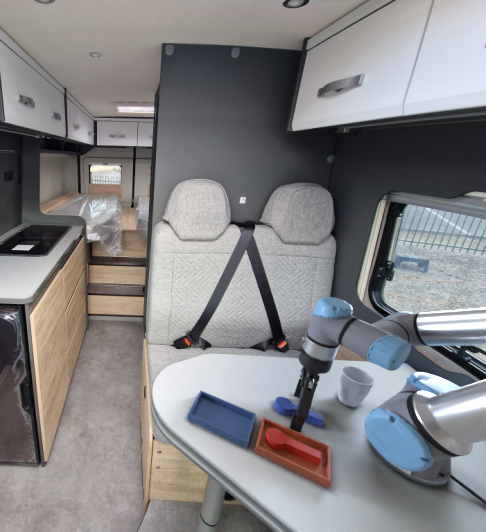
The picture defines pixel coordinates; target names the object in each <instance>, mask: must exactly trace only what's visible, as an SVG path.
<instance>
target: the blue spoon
mask: <svg viewBox="0 0 486 532" xmlns="http://www.w3.org/2000/svg"><path fill="white" fill-rule="evenodd" d="M297 406H298V404H295V403H293V401H291V399H289V398H287V397H285V396H277V397H276V398H275V400H274V404H273V408H274V410H275V411H276V412H277V413H278V414H280V415H283V416H292V417H293V415H294V412H293V409H297ZM324 419H325V417H324V415H323V414H320V413H319V412H315V411H314V410H311V409H310V411H309V415H308V419H307V420H306V419H305V422H307V423H310V424H312V425H314V426H317V427H319V428H322V427H323V424H324V421H325V420H324Z"/></svg>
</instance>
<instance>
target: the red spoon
mask: <svg viewBox="0 0 486 532" xmlns="http://www.w3.org/2000/svg"><path fill="white" fill-rule="evenodd" d="M265 441H266V443H267V445H268V446H269V447H270V448H272V449H274V450H277V451H281V450H285V451H287V452H289V453H292V454H294V455H296V456H298V457H300V458H302V459H305V460H307V461H309V462H311V463H313V464H315V465H317V466H319V464H320V461H321V452H320V451H318V450H316V449H313V448H311V447H309V446H306V445H304V444H302V443H300V442H297V441H295V440H293V439H291V438H288V437H286V435H285V434H284V433H283V432H282V431H281V430H279V429H277V428H269V429H268V430H267V432H266V436H265Z"/></svg>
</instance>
